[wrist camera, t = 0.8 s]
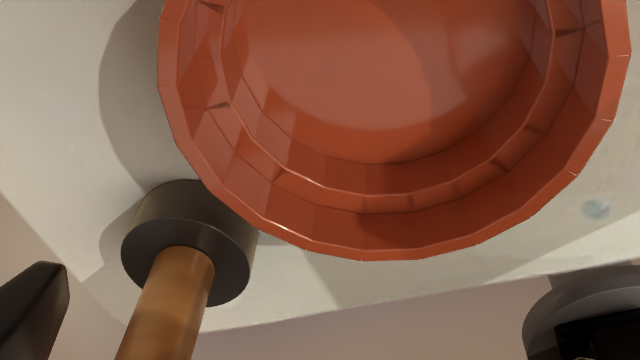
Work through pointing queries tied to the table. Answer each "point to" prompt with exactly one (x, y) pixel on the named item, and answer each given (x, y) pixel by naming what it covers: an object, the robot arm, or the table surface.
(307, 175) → the bowl
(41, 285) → the robot arm
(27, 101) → the table surface
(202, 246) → the coffee tamper
